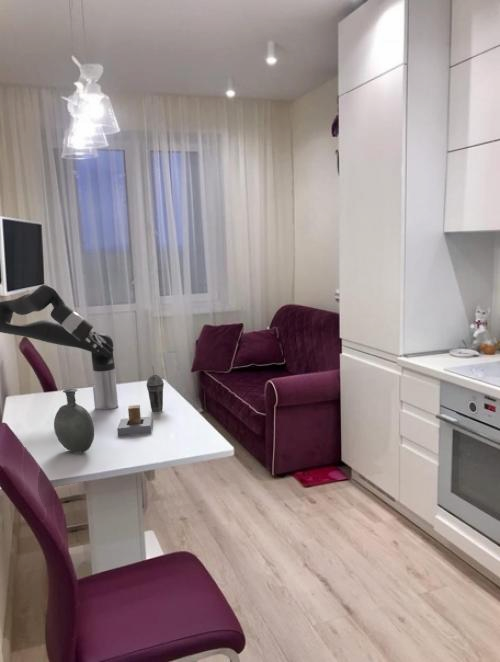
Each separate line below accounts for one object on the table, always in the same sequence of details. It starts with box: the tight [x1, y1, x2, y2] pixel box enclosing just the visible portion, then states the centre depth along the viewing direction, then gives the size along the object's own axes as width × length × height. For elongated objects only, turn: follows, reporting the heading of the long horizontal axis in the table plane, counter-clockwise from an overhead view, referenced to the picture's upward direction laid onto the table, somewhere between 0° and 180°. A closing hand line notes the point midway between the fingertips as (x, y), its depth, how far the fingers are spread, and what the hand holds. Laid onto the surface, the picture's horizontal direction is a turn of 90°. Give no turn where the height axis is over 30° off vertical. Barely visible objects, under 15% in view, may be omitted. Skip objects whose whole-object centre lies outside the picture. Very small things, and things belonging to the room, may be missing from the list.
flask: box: [53, 388, 95, 454], centre depth 177 cm, size 12×17×22 cm
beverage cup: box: [146, 365, 164, 413], centre depth 222 cm, size 7×7×20 cm
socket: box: [116, 415, 154, 437], centre depth 199 cm, size 12×12×3 cm
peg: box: [127, 404, 142, 425], centre depth 199 cm, size 4×4×9 cm
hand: (110, 353), depth 202 cm, fingers open, 8 cm apart
